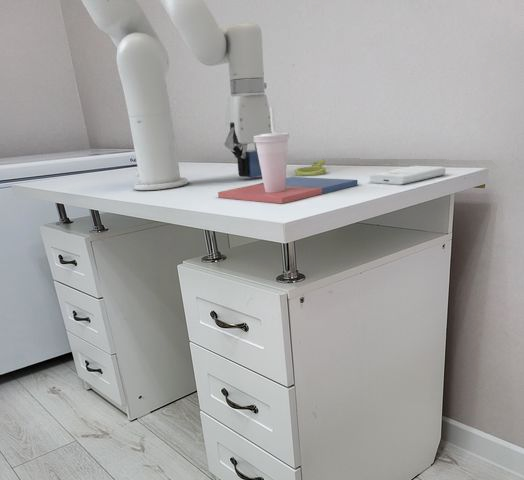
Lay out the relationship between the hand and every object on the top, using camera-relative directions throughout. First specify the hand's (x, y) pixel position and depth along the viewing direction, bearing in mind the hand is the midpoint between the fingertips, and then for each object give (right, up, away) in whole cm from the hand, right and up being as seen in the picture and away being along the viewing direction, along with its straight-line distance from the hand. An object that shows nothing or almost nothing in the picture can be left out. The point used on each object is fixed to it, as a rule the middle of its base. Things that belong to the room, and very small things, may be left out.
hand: (252, 173), depth 126 cm
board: (+7, -11, -23) cm, 26 cm away
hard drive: (+31, -8, -22) cm, 38 cm away
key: (+15, 0, +1) cm, 15 cm away
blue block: (0, 0, 0) cm, 0 cm away
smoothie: (+5, -12, -27) cm, 30 cm away
